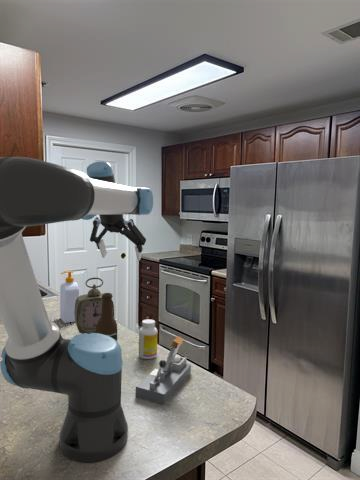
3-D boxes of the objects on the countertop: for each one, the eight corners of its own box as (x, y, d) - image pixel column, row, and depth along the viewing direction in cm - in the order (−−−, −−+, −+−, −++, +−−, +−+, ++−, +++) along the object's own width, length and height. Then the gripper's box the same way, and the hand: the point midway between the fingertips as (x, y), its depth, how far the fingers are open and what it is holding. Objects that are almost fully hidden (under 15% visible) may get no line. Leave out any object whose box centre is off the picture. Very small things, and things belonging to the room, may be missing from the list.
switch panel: (190, 373, 112) (191, 358, 111) (164, 404, 93) (164, 387, 93) (165, 367, 115) (166, 353, 115) (135, 396, 97) (136, 379, 96)
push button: (182, 361, 111) (182, 355, 111) (177, 365, 108) (177, 359, 108) (171, 359, 113) (172, 353, 112) (167, 363, 109) (167, 357, 109)
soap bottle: (58, 318, 161) (58, 270, 159) (73, 316, 165) (73, 269, 163) (63, 324, 154) (63, 273, 152) (78, 321, 157) (79, 272, 155)
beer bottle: (112, 368, 113) (113, 297, 111) (90, 365, 114) (91, 295, 112) (120, 358, 120) (122, 292, 118) (100, 356, 122) (101, 290, 120)
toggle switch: (158, 384, 98) (168, 361, 96) (155, 387, 96) (165, 364, 94) (153, 380, 99) (162, 357, 97) (149, 383, 97) (159, 360, 95)
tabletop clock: (76, 344, 131) (77, 280, 129) (73, 336, 140) (74, 276, 137) (113, 340, 137) (115, 278, 135) (108, 332, 146) (109, 274, 143)
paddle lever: (169, 372, 105) (183, 339, 103) (164, 378, 102) (178, 343, 99) (165, 369, 106) (178, 336, 103) (159, 374, 102) (173, 340, 100)
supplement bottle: (160, 356, 124) (161, 321, 123) (147, 361, 119) (148, 325, 118) (148, 350, 128) (149, 317, 127) (134, 355, 124) (135, 320, 123)
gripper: (149, 203, 111) (157, 252, 125) (79, 200, 117) (94, 247, 130) (142, 216, 106) (151, 266, 119) (69, 212, 111) (86, 261, 124)
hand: (122, 256), depth 125 cm, fingers open, 13 cm apart
